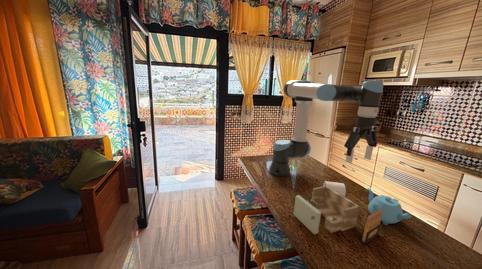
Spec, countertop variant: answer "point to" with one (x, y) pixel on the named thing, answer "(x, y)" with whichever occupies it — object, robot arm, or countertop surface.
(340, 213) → the carcass
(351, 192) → the countertop surface
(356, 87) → the robot arm
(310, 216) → the door
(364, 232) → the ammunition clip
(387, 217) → the teapot
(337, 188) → the mug
